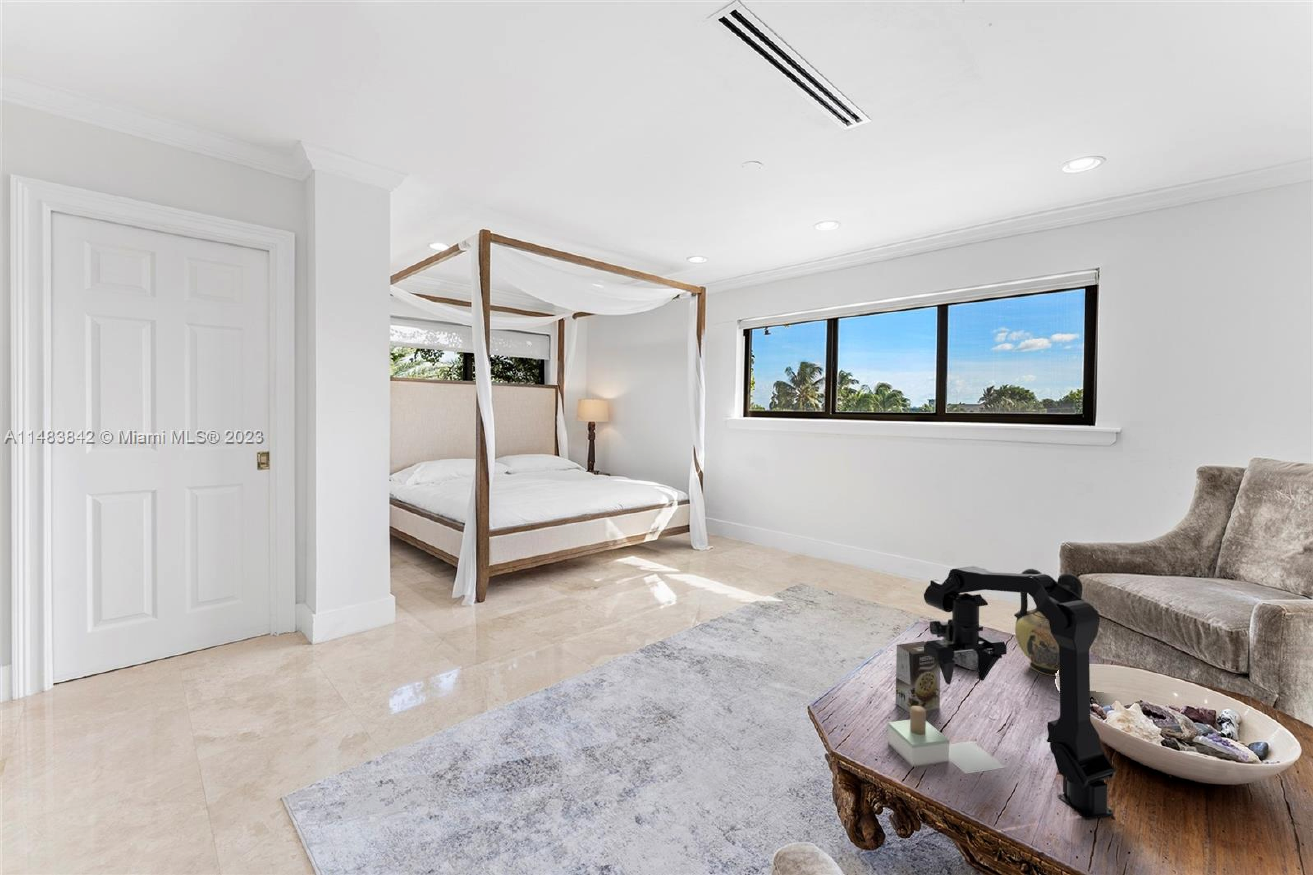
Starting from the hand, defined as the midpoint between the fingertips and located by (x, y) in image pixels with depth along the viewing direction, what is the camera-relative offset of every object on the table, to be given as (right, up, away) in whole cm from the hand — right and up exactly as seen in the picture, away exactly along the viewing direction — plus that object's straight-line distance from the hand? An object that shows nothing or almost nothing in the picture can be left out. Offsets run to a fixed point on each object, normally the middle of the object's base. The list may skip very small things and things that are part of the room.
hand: (964, 682), depth 137 cm
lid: (-15, -8, -9) cm, 19 cm away
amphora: (+42, -10, +31) cm, 53 cm away
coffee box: (-6, -12, +12) cm, 18 cm away
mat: (-5, -13, -11) cm, 17 cm away
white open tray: (-15, -13, -9) cm, 22 cm away
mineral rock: (+18, -10, +37) cm, 42 cm away
